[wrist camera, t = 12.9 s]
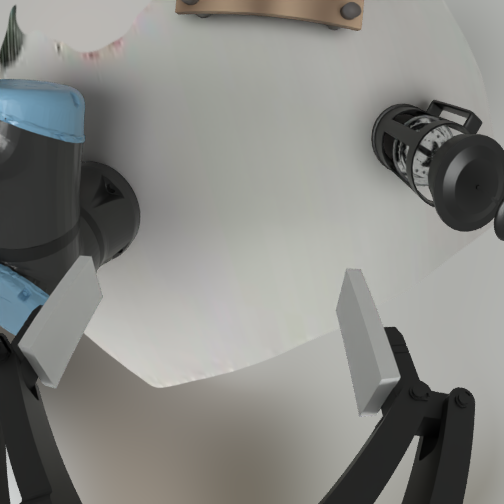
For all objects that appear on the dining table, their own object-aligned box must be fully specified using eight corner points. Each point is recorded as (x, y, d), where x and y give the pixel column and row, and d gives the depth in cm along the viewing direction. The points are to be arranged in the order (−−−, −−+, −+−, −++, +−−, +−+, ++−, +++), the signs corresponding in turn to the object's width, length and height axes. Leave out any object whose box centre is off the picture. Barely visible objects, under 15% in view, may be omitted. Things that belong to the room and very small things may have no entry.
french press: (408, 188, 39) (501, 294, 20) (355, 153, 37) (439, 249, 18) (451, 120, 34) (575, 185, 14) (400, 79, 32) (528, 107, 12)
